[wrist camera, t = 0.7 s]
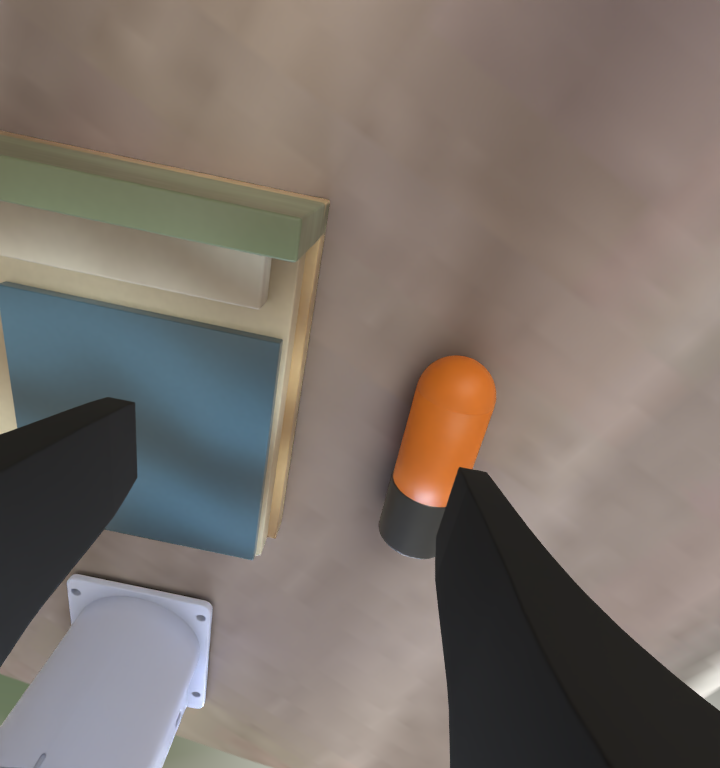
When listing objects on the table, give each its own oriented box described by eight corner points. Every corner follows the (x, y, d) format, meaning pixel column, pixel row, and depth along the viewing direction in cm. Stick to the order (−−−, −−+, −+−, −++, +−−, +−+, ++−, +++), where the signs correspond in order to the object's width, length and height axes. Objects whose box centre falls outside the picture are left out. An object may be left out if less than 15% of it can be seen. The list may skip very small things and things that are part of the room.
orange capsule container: (443, 517, 23) (449, 568, 20) (379, 505, 23) (376, 553, 20) (499, 352, 19) (516, 385, 17) (423, 336, 19) (427, 367, 16)
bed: (281, 521, 24) (251, 611, 19) (-157, 430, 24) (-294, 498, 19) (330, 199, 17) (302, 218, 13) (-278, 71, 17) (-532, 42, 13)
